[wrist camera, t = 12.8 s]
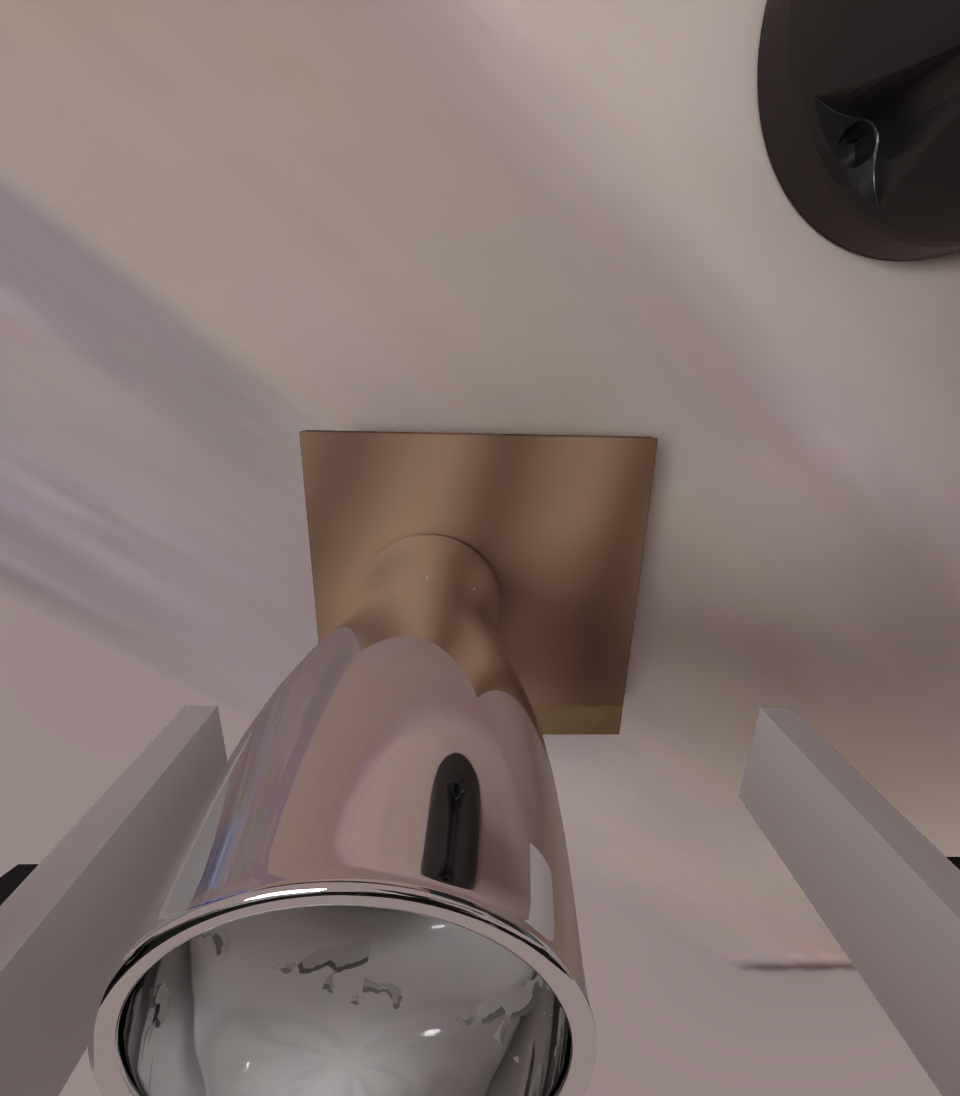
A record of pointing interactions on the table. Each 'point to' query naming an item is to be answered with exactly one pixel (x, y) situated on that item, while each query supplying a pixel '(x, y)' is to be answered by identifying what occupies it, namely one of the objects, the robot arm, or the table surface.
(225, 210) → the table surface
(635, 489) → the dock
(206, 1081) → the beer glass
